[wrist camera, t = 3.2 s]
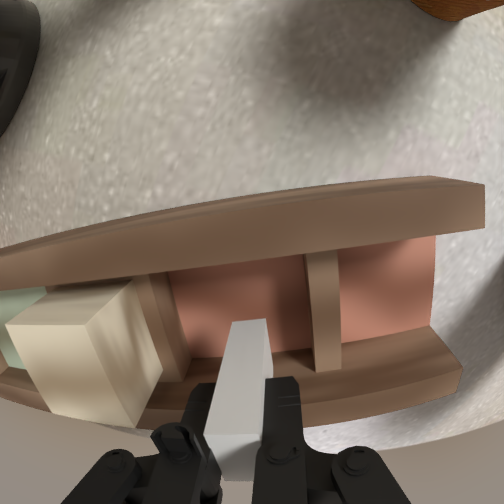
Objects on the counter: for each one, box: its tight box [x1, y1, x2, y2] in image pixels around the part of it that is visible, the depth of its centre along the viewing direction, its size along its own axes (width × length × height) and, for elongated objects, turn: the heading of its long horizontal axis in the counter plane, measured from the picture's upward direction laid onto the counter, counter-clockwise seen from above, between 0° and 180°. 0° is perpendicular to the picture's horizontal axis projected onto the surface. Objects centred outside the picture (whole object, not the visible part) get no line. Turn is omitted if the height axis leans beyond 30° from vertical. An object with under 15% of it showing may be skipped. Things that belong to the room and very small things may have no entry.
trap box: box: [0, 176, 485, 430], centre depth 16 cm, size 12×36×6 cm, turn 99°
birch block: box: [5, 279, 163, 428], centre depth 14 cm, size 6×6×5 cm
